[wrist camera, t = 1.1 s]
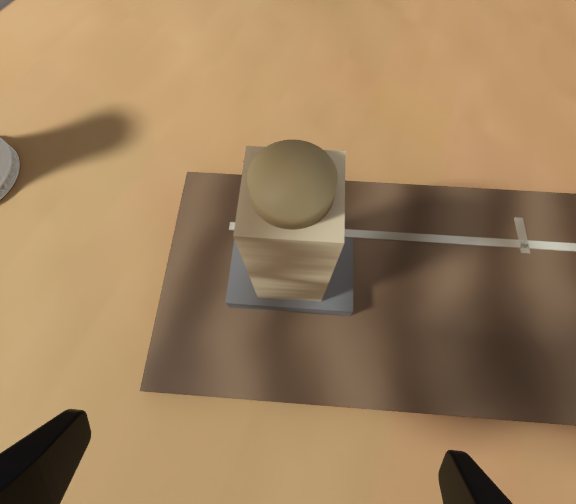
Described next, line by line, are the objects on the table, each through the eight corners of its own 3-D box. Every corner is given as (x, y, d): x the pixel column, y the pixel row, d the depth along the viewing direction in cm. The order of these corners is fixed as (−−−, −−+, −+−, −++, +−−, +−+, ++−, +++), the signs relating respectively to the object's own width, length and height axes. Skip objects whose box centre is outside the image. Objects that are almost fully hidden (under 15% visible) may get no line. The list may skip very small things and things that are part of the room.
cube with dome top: (349, 246, 24) (402, 125, 12) (349, 316, 22) (411, 249, 11) (238, 239, 24) (192, 115, 13) (229, 307, 22) (166, 233, 11)
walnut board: (618, 203, 26) (632, 196, 25) (695, 433, 20) (716, 436, 19) (190, 178, 27) (186, 171, 26) (146, 390, 21) (139, 391, 20)
